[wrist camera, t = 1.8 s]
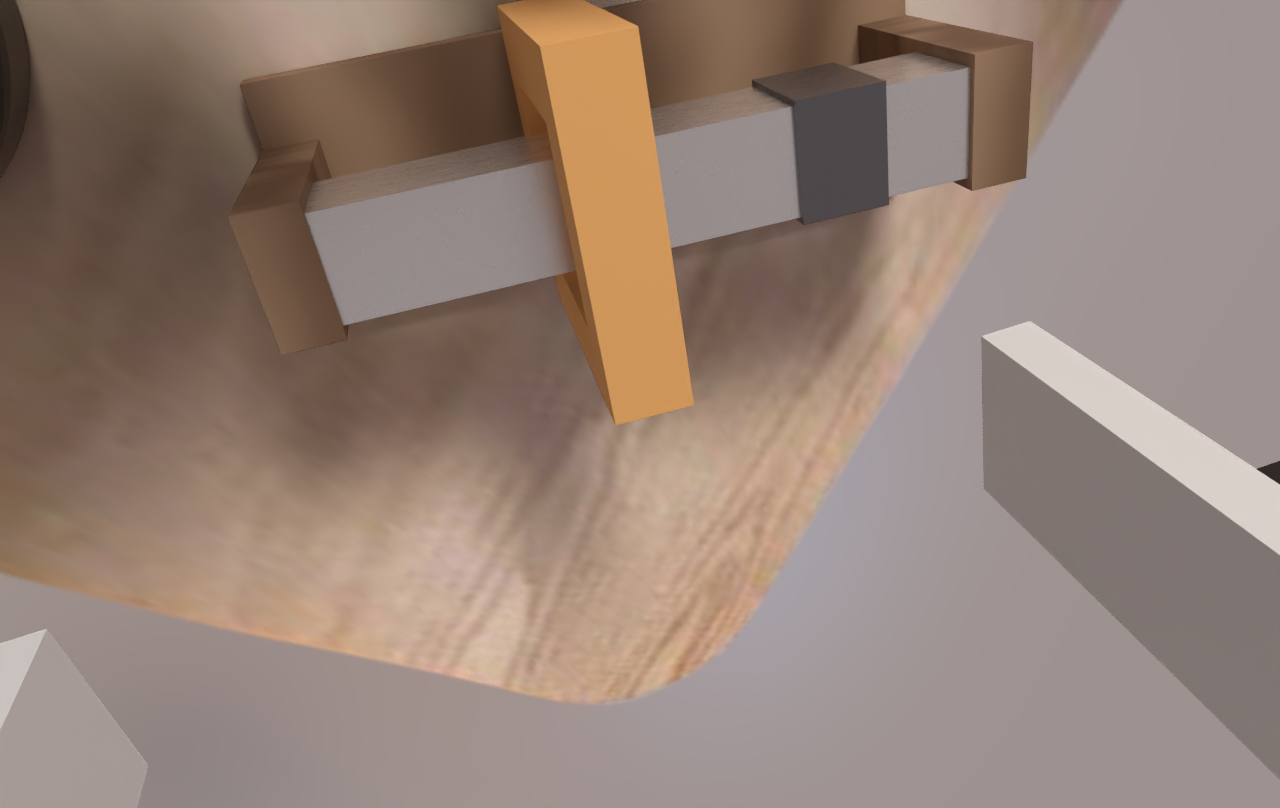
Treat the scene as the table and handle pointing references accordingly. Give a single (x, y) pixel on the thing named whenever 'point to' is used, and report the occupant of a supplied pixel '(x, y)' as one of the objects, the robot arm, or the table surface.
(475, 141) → the brown stand
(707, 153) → the rail
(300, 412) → the table surface
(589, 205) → the orange square ring
